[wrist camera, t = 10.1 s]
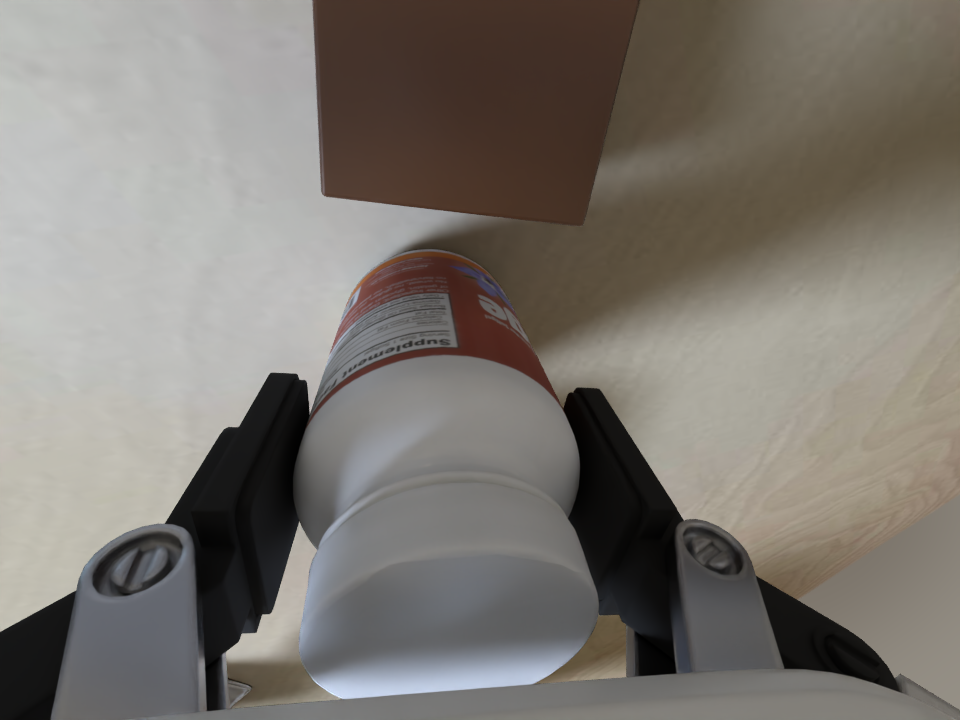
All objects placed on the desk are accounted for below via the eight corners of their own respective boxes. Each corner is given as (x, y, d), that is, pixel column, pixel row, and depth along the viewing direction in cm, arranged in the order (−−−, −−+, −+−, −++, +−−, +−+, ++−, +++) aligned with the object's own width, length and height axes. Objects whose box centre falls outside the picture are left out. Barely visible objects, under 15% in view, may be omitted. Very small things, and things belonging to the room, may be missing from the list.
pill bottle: (526, 364, 17) (661, 670, 8) (386, 410, 18) (360, 760, 8) (484, 217, 14) (630, 450, 5) (312, 277, 14) (129, 612, 5)
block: (355, -79, 10) (299, -240, 6) (568, -31, 11) (674, -132, 7) (356, 166, 13) (320, 196, 8) (529, 188, 14) (584, 227, 9)
